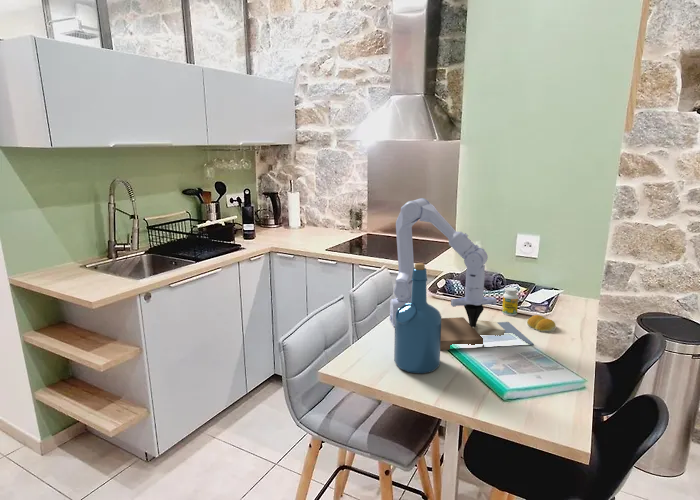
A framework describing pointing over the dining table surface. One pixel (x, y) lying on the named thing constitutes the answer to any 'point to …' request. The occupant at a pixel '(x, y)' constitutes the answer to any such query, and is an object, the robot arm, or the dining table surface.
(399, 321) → the wine bottle
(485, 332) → the tile
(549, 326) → the bread roll
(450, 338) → the board
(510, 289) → the supplement bottle
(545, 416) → the dining table surface
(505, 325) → the mat
